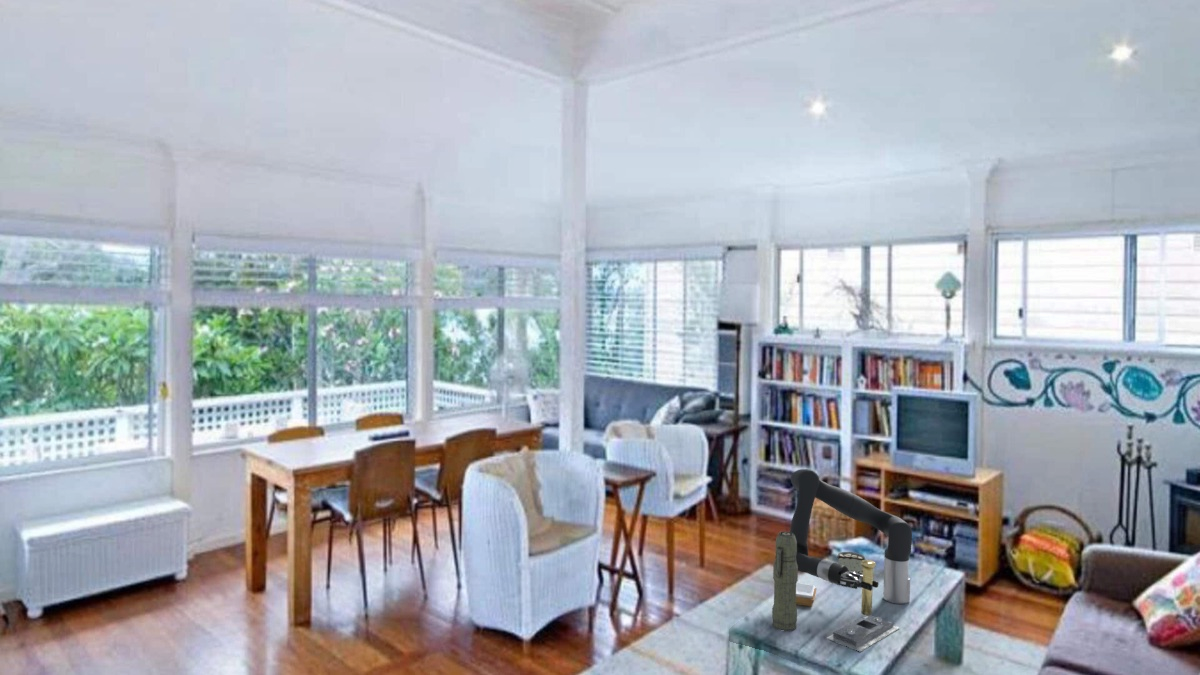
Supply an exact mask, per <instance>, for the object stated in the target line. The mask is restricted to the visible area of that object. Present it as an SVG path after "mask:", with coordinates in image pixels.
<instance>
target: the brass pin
mask: <svg viewBox="0 0 1200 675" xmlns="http://www.w3.org/2000/svg"><path fill="white" fill-rule="evenodd" d="M876 565H877V564H876V562H875V561H873V560H871V559H870V560H869V559H866V560H862V561H861V566H863V576H862V582H863V581H864V582H867V583H870V584H872V590H871V591H870V590H867V589H864V588H861V605H860V607H861V609H860V613H861V614H862V615H864V616H870V615H871V616H872V612H873V610H872V608H873V588H874V587H873V580H874V568H876Z"/></svg>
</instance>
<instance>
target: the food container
mask: <svg viewBox="0 0 1200 675" xmlns="http://www.w3.org/2000/svg"><path fill="white" fill-rule="evenodd" d="M836 560H837V563H838V564H841V565H844V566H846V567H847V569H848V571H849V572H851V571H852V572H855V573H858V571H861V572H863V566H861V561H862V560H867V558H866V557H865V555H863V554H861V553H859V552H855V551H840V552H838V553H837V555H836Z"/></svg>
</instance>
